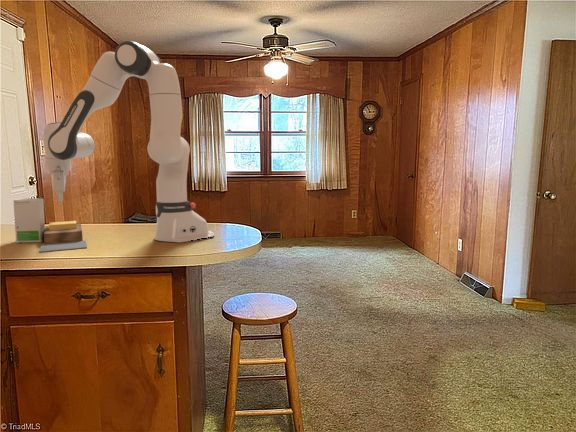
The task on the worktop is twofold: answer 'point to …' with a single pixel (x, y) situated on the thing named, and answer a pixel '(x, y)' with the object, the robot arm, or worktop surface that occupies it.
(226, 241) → the worktop surface
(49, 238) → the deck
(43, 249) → the mat
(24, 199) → the skincare box
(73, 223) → the yellow rectangular block
